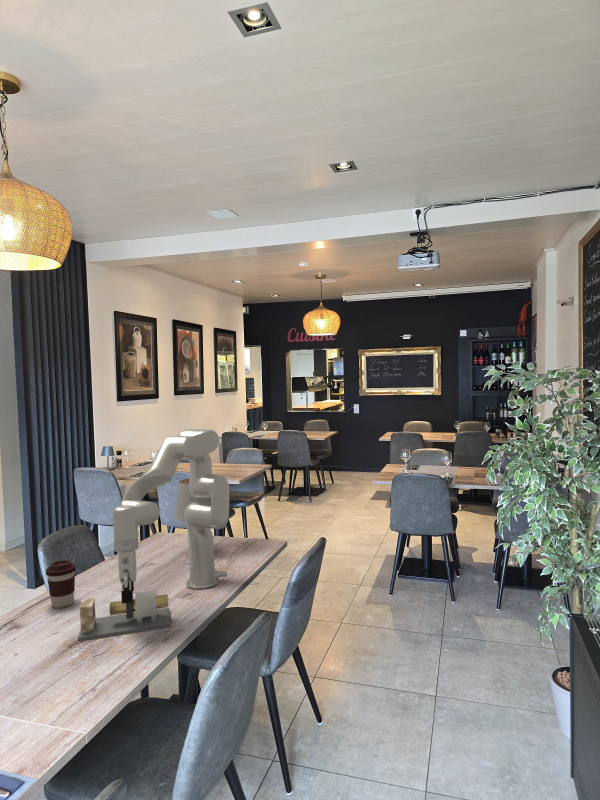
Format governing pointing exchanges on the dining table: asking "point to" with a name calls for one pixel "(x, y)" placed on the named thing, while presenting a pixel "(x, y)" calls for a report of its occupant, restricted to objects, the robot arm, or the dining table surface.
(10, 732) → the dining table surface
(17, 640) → the dining table surface
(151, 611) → the sleeve
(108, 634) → the board
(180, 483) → the lamp
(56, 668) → the dining table surface
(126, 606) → the tube
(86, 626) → the socket
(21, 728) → the dining table surface
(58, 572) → the coffee cup
